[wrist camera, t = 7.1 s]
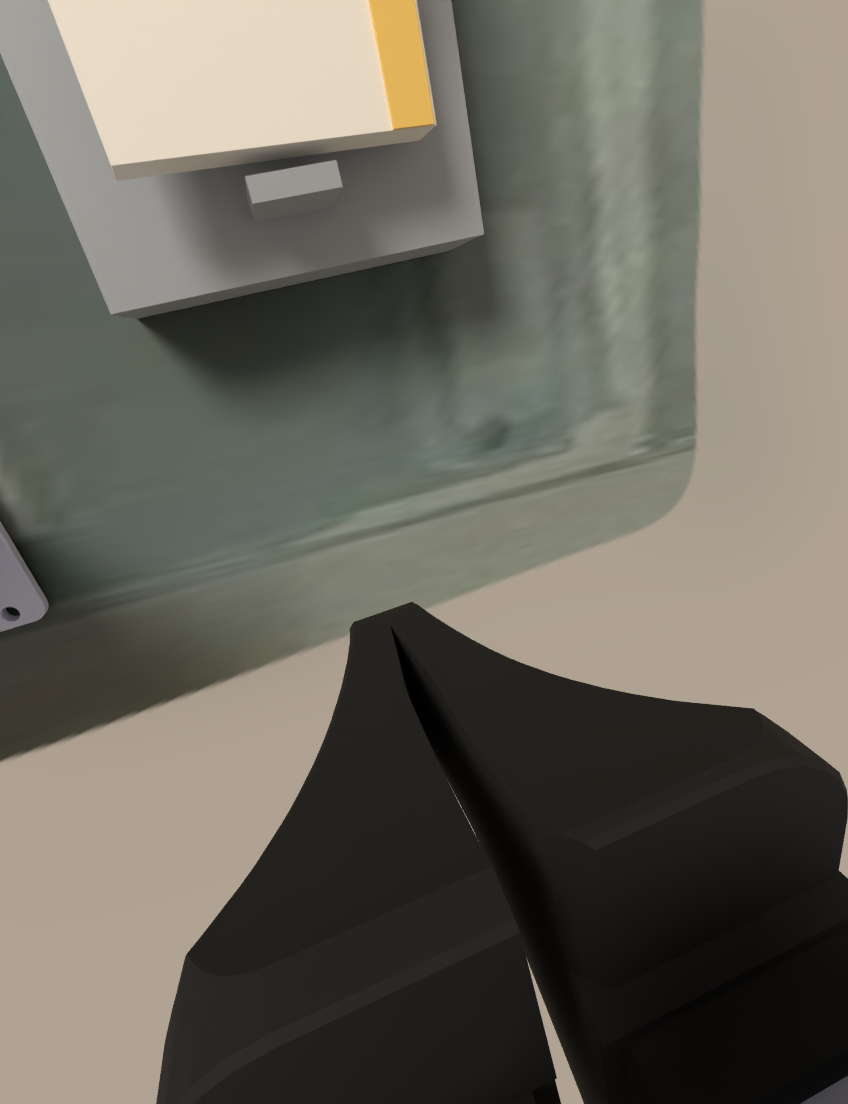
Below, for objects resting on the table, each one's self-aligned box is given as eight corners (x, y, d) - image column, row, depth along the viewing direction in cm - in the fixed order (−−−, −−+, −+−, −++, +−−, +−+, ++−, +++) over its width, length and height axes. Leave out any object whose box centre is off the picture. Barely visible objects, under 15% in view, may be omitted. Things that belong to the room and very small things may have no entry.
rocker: (116, 181, 11) (111, 164, 10) (25, -57, 9) (8, -103, 8) (419, 140, 13) (438, 123, 12) (384, -61, 11) (402, -99, 10)
